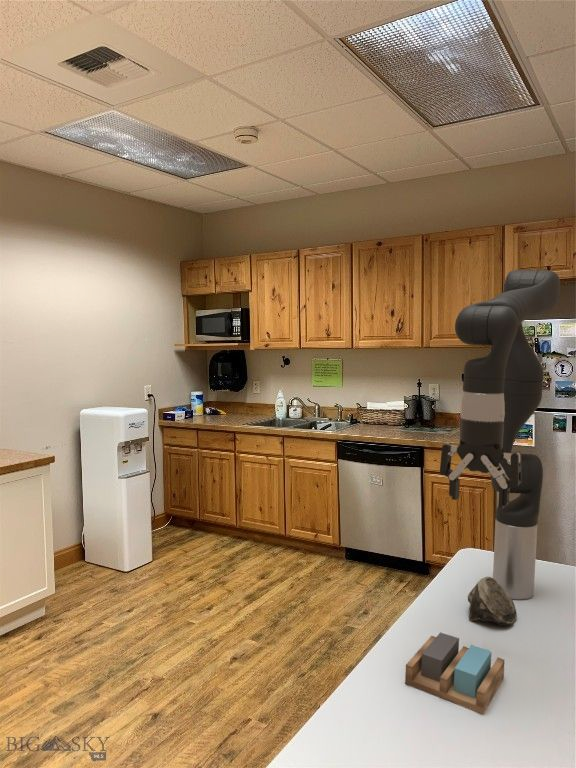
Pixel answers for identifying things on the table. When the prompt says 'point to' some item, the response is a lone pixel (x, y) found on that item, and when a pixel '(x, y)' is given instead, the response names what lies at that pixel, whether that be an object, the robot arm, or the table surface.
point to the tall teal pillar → (472, 670)
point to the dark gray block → (439, 656)
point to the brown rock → (491, 603)
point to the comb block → (447, 681)
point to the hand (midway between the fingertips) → (478, 503)
